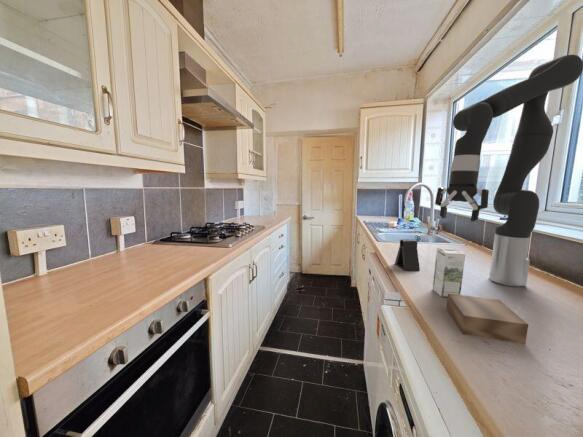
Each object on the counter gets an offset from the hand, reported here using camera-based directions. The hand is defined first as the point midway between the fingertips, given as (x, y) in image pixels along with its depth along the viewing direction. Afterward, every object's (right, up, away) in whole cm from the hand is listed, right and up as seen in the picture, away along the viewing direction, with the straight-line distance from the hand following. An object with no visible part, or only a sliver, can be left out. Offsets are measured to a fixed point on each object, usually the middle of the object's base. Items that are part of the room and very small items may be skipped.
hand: (457, 219), depth 81 cm
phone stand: (-6, -21, +22) cm, 31 cm away
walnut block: (-8, -27, -20) cm, 34 cm away
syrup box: (-6, -24, -3) cm, 25 cm away
